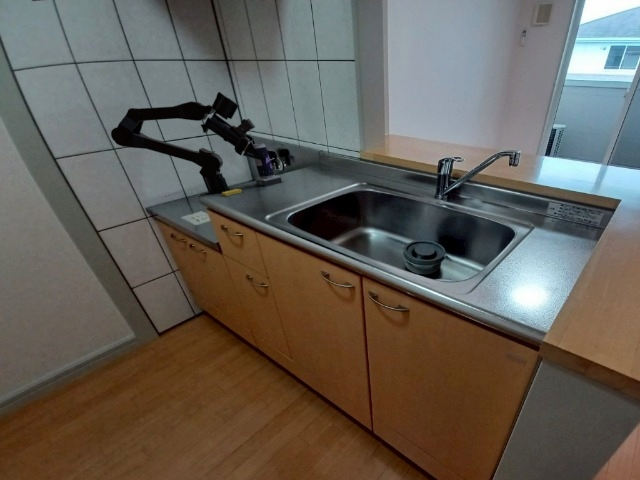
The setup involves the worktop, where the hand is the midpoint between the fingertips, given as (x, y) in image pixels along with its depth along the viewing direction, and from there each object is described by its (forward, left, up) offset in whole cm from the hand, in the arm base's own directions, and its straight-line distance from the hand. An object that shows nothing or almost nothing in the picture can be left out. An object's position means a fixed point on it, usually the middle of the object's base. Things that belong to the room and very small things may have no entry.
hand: (266, 158), depth 125 cm
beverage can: (-1, 0, -7) cm, 7 cm away
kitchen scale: (-1, 0, -9) cm, 9 cm away
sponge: (-11, -13, -9) cm, 19 cm away
